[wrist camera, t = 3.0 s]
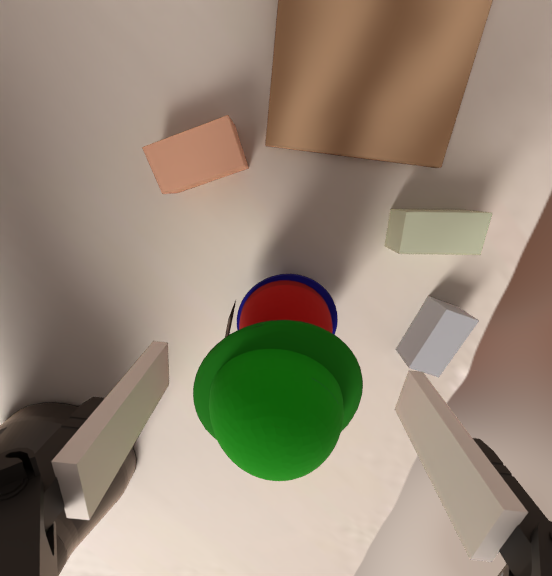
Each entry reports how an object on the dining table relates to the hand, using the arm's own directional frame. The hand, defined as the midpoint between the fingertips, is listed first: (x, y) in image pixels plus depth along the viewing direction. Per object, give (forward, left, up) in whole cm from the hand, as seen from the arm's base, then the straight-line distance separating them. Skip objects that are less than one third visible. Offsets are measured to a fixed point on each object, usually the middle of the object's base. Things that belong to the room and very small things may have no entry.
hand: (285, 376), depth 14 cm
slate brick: (+14, -1, -10) cm, 17 cm away
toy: (0, 0, -10) cm, 10 cm away
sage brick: (+11, +8, -10) cm, 17 cm away
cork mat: (+4, +19, -10) cm, 22 cm away
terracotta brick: (-7, +11, -10) cm, 17 cm away
